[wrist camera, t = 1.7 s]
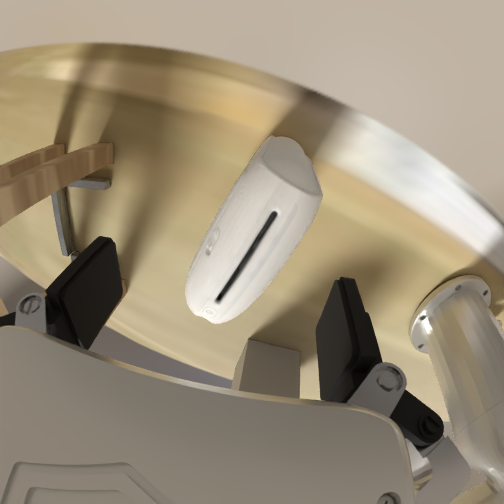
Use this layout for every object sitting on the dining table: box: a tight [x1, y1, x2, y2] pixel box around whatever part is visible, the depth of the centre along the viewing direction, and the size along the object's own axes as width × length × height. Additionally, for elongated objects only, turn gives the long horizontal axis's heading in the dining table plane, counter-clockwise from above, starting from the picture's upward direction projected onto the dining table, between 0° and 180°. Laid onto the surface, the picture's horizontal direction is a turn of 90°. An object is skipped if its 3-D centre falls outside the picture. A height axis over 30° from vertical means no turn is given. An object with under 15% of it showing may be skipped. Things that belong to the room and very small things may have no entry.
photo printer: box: [185, 135, 323, 324], centre depth 18 cm, size 10×4×12 cm, turn 151°
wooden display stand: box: [0, 143, 127, 334], centre depth 19 cm, size 9×18×18 cm, turn 173°
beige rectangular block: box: [231, 339, 300, 398], centre depth 26 cm, size 7×7×18 cm
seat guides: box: [51, 177, 119, 264], centre depth 26 cm, size 8×11×2 cm
